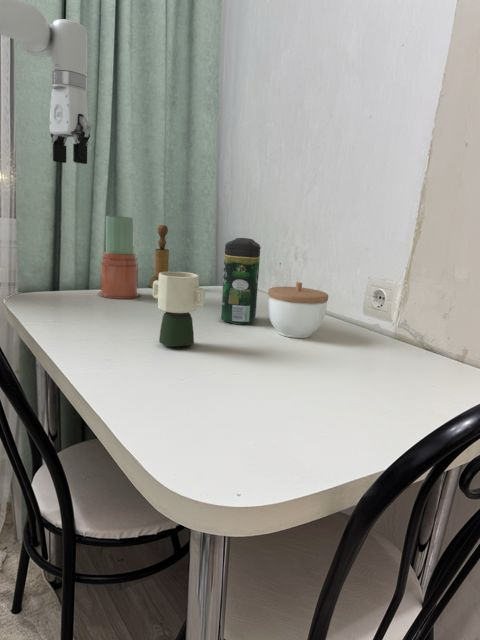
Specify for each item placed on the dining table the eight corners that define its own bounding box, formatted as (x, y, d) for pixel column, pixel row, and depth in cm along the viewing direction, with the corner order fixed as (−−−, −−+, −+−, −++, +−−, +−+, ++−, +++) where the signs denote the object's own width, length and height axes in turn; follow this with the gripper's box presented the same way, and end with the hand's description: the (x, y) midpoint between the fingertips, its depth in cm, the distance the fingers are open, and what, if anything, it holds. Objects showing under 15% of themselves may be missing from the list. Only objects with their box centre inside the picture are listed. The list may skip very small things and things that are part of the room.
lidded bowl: (261, 325, 113) (266, 276, 110) (316, 328, 115) (322, 280, 112) (268, 339, 101) (273, 285, 98) (329, 343, 103) (336, 289, 100)
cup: (100, 251, 129) (100, 215, 127) (123, 251, 134) (124, 216, 132) (115, 254, 125) (115, 217, 123) (138, 254, 130) (139, 218, 128)
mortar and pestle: (145, 287, 148) (146, 223, 143) (156, 284, 154) (158, 223, 149) (165, 290, 146) (167, 226, 141) (176, 287, 152) (178, 225, 147)
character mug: (212, 346, 93) (216, 276, 90) (190, 355, 87) (194, 280, 83) (163, 336, 97) (165, 268, 94) (140, 343, 91) (141, 271, 88)
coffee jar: (223, 314, 121) (228, 235, 116) (256, 317, 121) (262, 238, 116) (218, 323, 111) (223, 237, 106) (253, 326, 111) (260, 241, 106)
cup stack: (92, 293, 132) (92, 250, 129) (124, 290, 139) (125, 250, 136) (113, 300, 126) (113, 255, 123) (146, 297, 133) (146, 255, 130)
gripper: (36, 82, 118) (37, 159, 123) (73, 76, 108) (73, 161, 112) (66, 90, 124) (66, 163, 128) (104, 85, 113) (103, 165, 118)
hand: (69, 162), depth 120 cm, fingers open, 9 cm apart
